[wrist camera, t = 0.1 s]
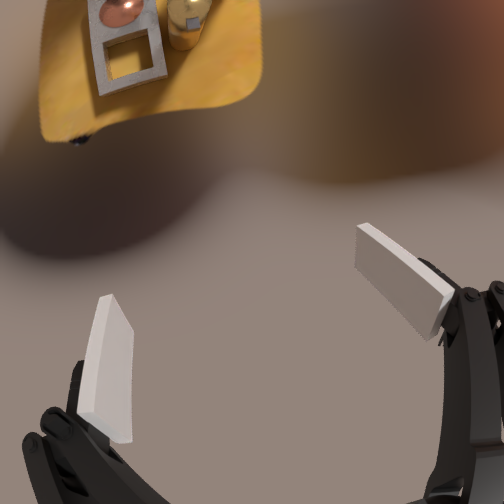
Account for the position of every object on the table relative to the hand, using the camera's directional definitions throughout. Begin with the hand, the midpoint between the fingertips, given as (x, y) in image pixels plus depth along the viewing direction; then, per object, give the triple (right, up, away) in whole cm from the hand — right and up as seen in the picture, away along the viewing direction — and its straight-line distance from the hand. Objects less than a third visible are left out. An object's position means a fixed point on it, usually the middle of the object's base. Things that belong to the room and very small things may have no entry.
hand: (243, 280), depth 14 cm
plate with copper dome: (-16, +30, +11) cm, 36 cm away
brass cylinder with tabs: (-9, +30, +14) cm, 34 cm away
